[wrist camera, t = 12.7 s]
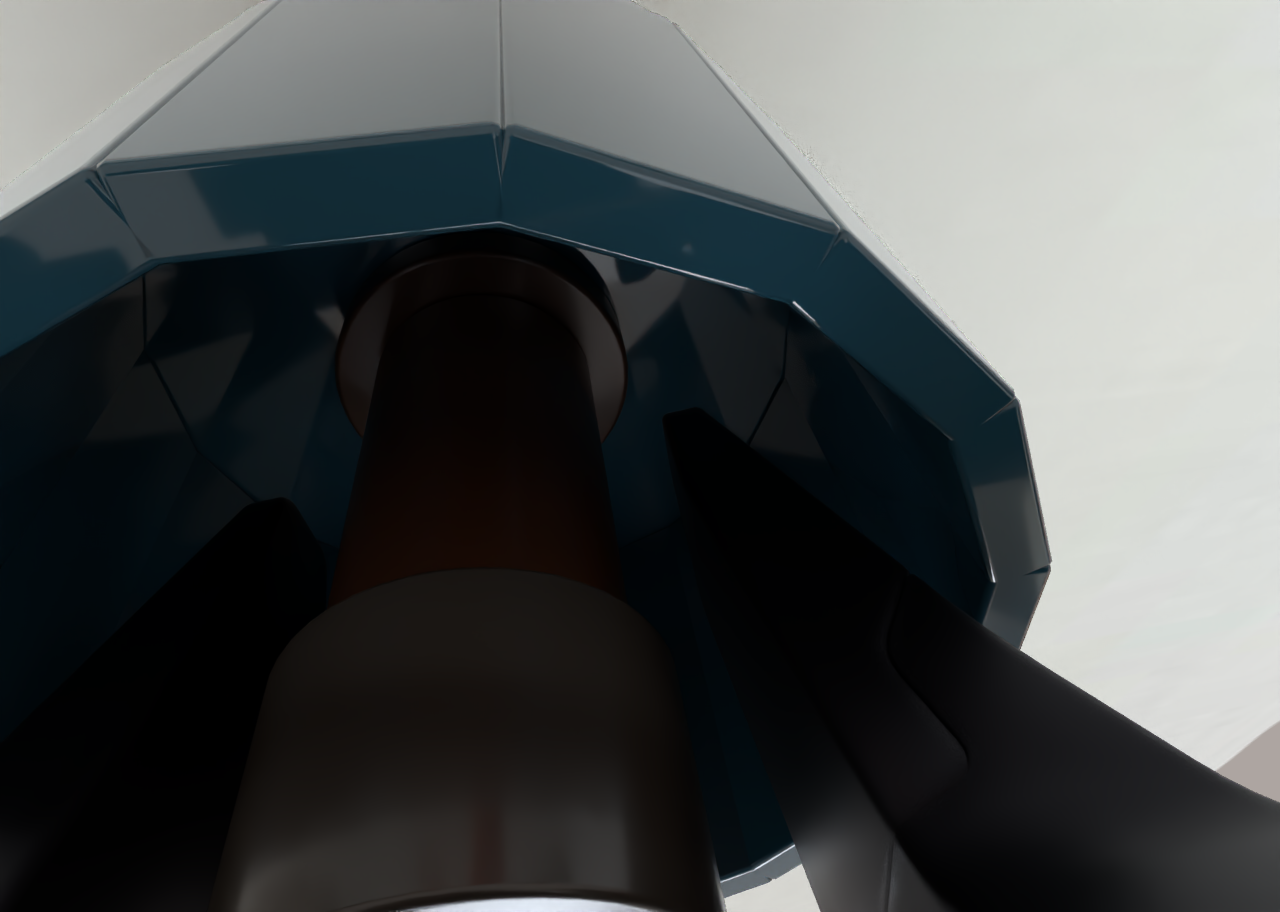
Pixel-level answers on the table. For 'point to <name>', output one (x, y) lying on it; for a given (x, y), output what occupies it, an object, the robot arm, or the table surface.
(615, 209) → the faceted blue grey bowl
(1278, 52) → the table surface
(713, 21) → the table surface
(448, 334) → the flanged grey cylinder
